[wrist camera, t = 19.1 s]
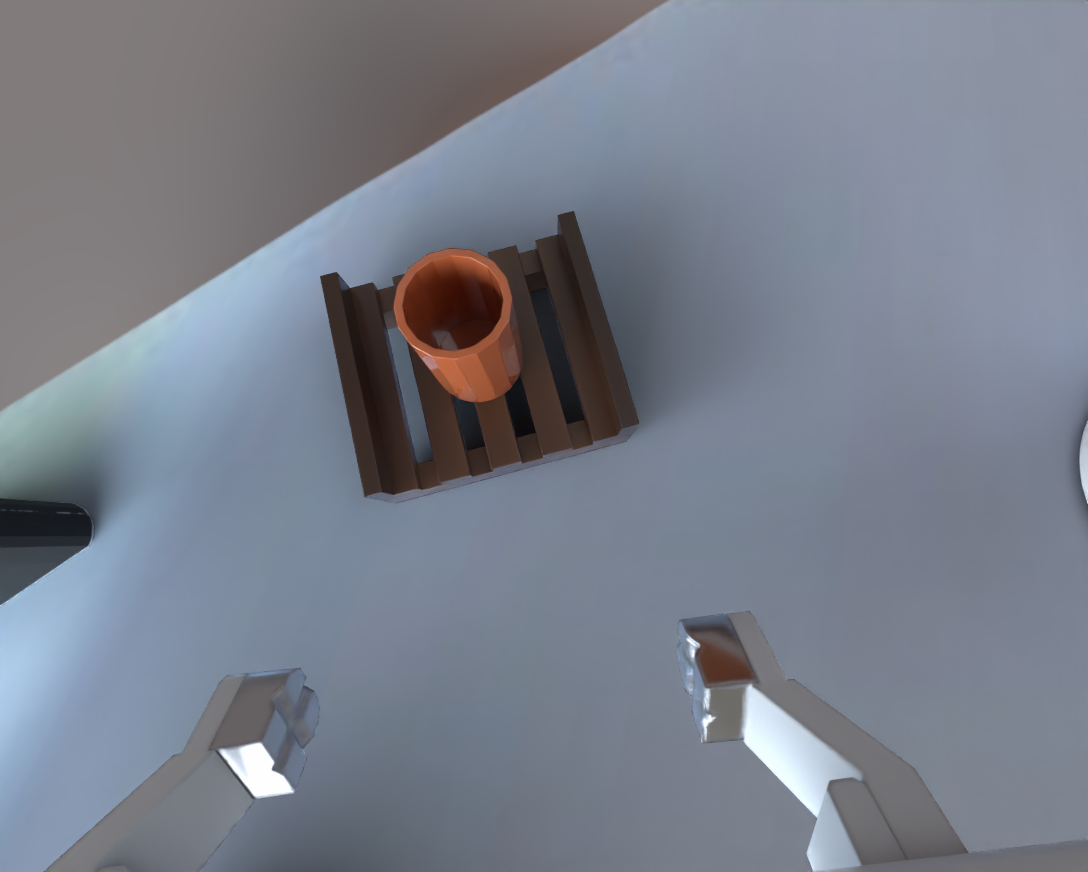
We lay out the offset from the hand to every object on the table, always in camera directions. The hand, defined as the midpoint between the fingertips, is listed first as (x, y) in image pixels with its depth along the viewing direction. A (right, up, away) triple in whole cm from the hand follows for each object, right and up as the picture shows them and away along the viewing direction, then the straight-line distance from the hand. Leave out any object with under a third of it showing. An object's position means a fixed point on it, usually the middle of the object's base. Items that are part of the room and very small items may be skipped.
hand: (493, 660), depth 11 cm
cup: (-3, +9, +19) cm, 22 cm away
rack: (-3, +9, +23) cm, 24 cm away
